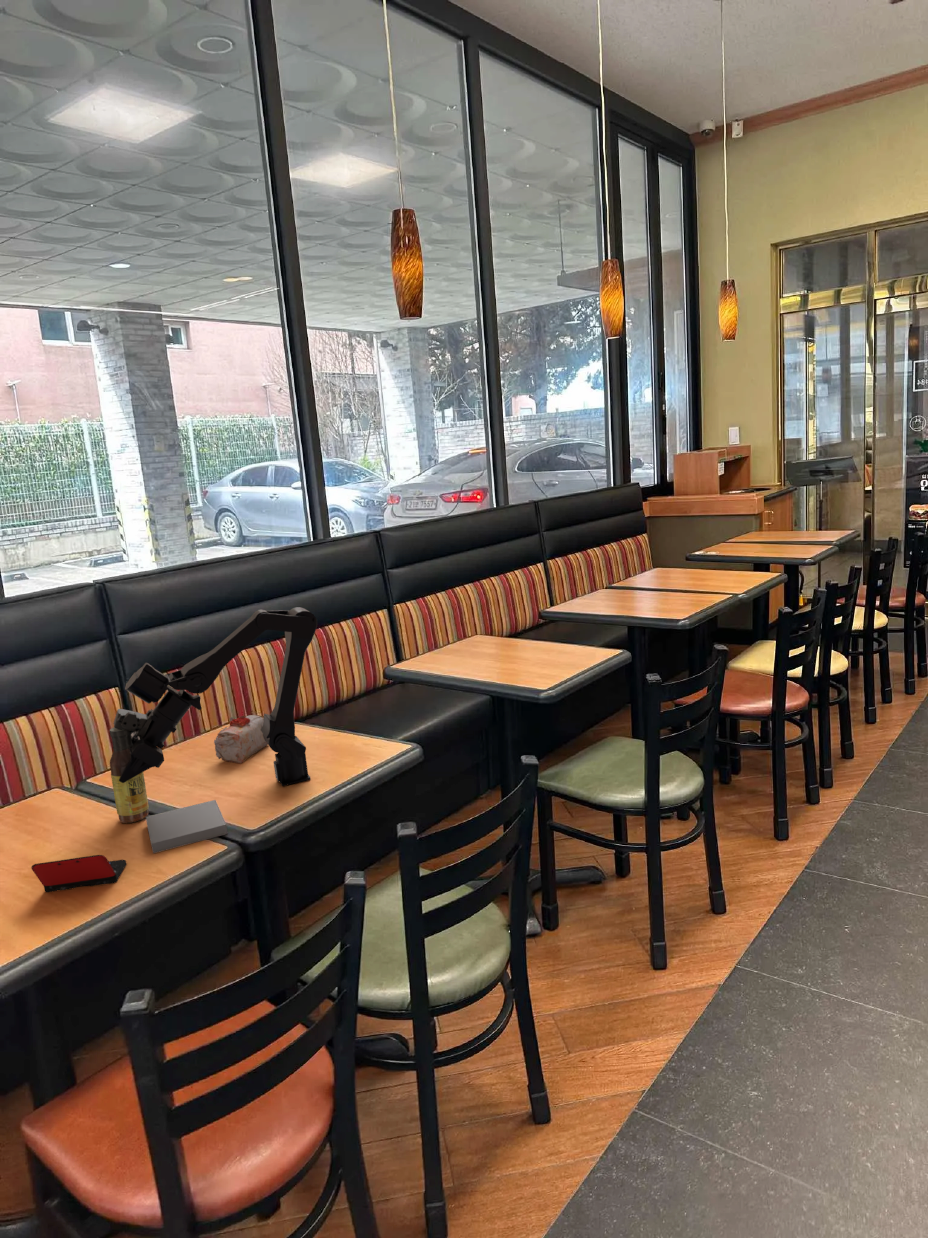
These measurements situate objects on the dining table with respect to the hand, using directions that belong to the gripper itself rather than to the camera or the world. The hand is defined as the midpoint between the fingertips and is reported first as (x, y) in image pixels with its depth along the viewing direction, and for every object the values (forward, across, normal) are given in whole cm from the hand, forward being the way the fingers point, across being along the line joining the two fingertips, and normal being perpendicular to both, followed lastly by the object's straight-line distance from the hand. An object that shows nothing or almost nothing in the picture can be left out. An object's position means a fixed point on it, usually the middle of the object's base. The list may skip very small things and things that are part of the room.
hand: (120, 776), depth 173 cm
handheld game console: (+13, +24, +1) cm, 28 cm away
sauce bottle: (+6, 0, +8) cm, 10 cm away
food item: (-13, -24, +27) cm, 39 cm away
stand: (-1, +13, +14) cm, 19 cm away
